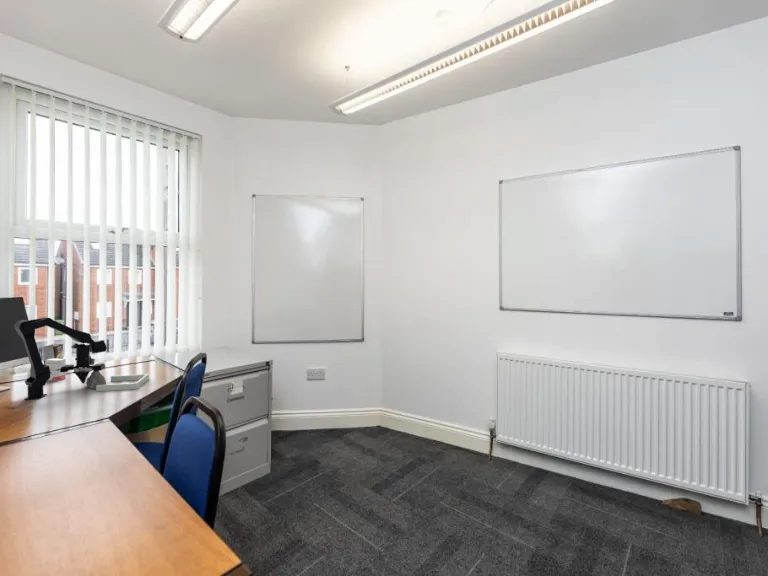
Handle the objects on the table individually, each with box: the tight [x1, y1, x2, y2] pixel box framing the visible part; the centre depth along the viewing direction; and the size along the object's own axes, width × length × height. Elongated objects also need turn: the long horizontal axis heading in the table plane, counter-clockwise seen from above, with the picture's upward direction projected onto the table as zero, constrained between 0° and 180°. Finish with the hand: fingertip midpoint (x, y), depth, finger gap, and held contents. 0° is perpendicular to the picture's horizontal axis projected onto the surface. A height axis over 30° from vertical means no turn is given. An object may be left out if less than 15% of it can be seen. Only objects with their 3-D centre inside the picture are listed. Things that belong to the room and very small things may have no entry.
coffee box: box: [43, 343, 64, 365], centre depth 237 cm, size 9×6×16 cm
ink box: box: [45, 358, 67, 382], centre depth 218 cm, size 9×5×12 cm, turn 84°
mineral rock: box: [85, 370, 108, 390], centre depth 206 cm, size 13×11×10 cm
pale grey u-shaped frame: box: [95, 373, 150, 392], centre depth 210 cm, size 19×19×3 cm
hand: (83, 383), depth 205 cm, fingers closed
